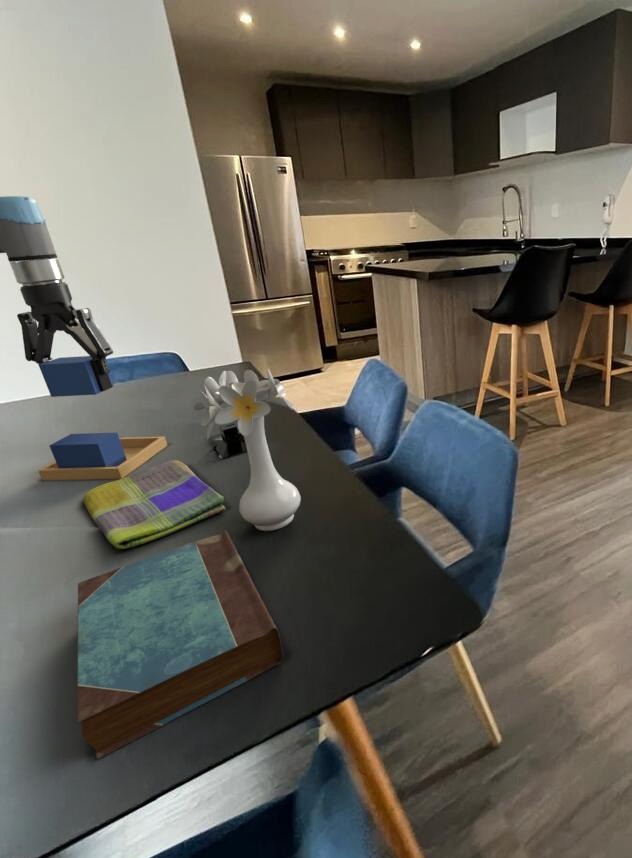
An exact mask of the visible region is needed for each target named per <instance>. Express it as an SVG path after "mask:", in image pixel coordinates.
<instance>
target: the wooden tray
mask: <svg viewBox="0 0 632 858" xmlns="http://www.w3.org/2000/svg"><path fill="white" fill-rule="evenodd" d="M119 439H120V442H121V445H122V447H123V450H124V453H125V456H126V459H127V460H126V461H125V462H123V463H122V464H120V465H119V466H117V467H90V468H58V465H57V463H56V461H55V460H54V461H53V462H51V463H49V464H47V465H45V466H43V467H42V468H40V469H39V470H38V473H39V476H40V478H41V480H42V481H47V482H48V481H80V480H81V481H82V480H88V481H89V480H120V479H123V478H126V477H127V476H128V475H129V474H130V473H132V472H133V471H134V470H136V469H137V468H139V467H140V466H141V465H143V464H144V463H146V462H147V461H148V460H150V459H151V458H153V457H154V456H155V455H156V454H158V453H160V452H161V451H162V450H163V449H165V448H166V447H168V443H167V440H166V436H136V437H135V436H133V437H119Z"/></svg>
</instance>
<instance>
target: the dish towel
mask: <svg viewBox="0 0 632 858" xmlns="http://www.w3.org/2000/svg"><path fill="white" fill-rule="evenodd" d="M82 501H83V504H84V506H85V508H86V510H87V511H88V514H89V515H90V517H91V518H92V520H93V522H94V524H95V525H96V526H97V528H98V529H99V530H100V531H101V532H102V534H103V535H104V537H106V540H107V541H108V542H109V544H111V545H112V546H114V548H115V549H118V550H125V549H131V548H134V547H138V546H140V545H144V544H146V543H150V542H152V541H156V540H157V539H160V538H163V537H165V536H168V535H170V534H172V533H175V532H177V531H180V530H183V529H184V528H186V527H187V528H188V527H190V526H192V525H194V524H196V523H197V522H200V521H202V520H205V519H207V518H210V517H213V516H215V515H217V514H220V513H222V512H224V511H226V510H227V508H226V507H225V505H223V504H222V503H224V501H225V497H224V496H223V495H221V494H220V493H218V492H217V491H215V490H214V489H213V488H212V487H211V486H209V485H208V484H206V483H205V482H204V481H202V480H201V479H200V478H199V477H198V476H197V475H196V474H195V473H194V472H193V471H192V469H190V468H189V467H188V465H186V464H185V463H183V461H179V460H178V459H175V460H173V459H171V460H168V461H166V462H163V463H160V464H158V465H156V466H152V467H148V468H146V469H143V470H140V471H137V472H135V473H133V474H130V475H127V476H125V477H123V478H122V479H116V480H113V481H110V482H106V483H103V484H100V485H98V486H95V487H93V488H92V489H89V490H88V491H87V492H86V493H85V494H84V495H83V497H82Z"/></svg>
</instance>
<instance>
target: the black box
mask: <svg viewBox="0 0 632 858" xmlns="http://www.w3.org/2000/svg"><path fill="white" fill-rule="evenodd" d="M218 428H219V432H220V437H219V438H216V439H214V442H215V443H216V445H215V446H213V448H214V449H215V451H216V452H217V454H218V457H219V458H220V459H221V460H225V459H228V458H231V457H234V456H238V455H241V454H244V453H248V452H247V447H246V443H245V439H244V436H243V435H242V434H241V433H240V431H239V429H238V425H236V424H235V423H234V421H233V422H230V423H228V424H222V425H219V424H218Z"/></svg>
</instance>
